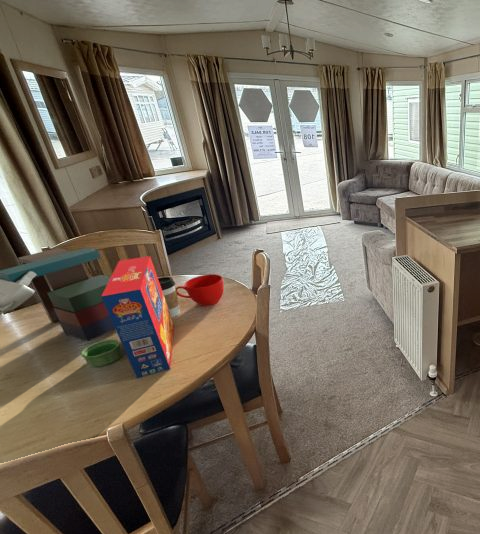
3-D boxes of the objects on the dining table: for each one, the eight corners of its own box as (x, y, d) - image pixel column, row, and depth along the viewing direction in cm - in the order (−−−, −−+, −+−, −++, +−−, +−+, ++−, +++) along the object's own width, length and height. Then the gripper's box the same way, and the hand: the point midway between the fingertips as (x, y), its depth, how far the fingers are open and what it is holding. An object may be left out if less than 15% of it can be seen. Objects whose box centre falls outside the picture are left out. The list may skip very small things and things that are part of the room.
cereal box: (170, 368, 104) (140, 289, 93) (136, 378, 100) (101, 296, 89) (174, 325, 126) (150, 256, 114) (146, 331, 122) (119, 260, 110)
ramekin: (102, 370, 103) (96, 359, 101) (78, 365, 105) (72, 354, 103) (131, 352, 111) (127, 341, 109) (109, 348, 113) (104, 337, 111)
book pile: (65, 334, 119) (44, 293, 112) (116, 312, 133) (101, 274, 126) (87, 341, 116) (67, 299, 109) (138, 317, 130) (123, 279, 123)
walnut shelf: (51, 322, 125) (17, 257, 115) (83, 309, 134) (55, 248, 123) (72, 328, 122) (39, 262, 112) (104, 314, 131) (77, 252, 120)
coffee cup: (174, 320, 129) (162, 285, 123) (152, 320, 128) (139, 285, 122) (189, 309, 136) (178, 275, 130) (167, 308, 136) (156, 275, 130)
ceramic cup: (184, 299, 143) (177, 278, 139) (229, 292, 149) (224, 272, 145) (175, 314, 132) (168, 292, 128) (225, 306, 139) (219, 285, 135)
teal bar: (0, 280, 100) (-5, 271, 99) (89, 255, 120) (86, 247, 118) (12, 284, 99) (7, 274, 98) (101, 258, 118) (97, 250, 117)
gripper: (-14, 309, 90) (35, 269, 98) (-56, 296, 96) (-6, 259, 103) (13, 321, 95) (57, 281, 103) (-29, 308, 101) (16, 271, 108)
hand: (25, 270), depth 103 cm, fingers closed on teal bar, 6 cm apart
